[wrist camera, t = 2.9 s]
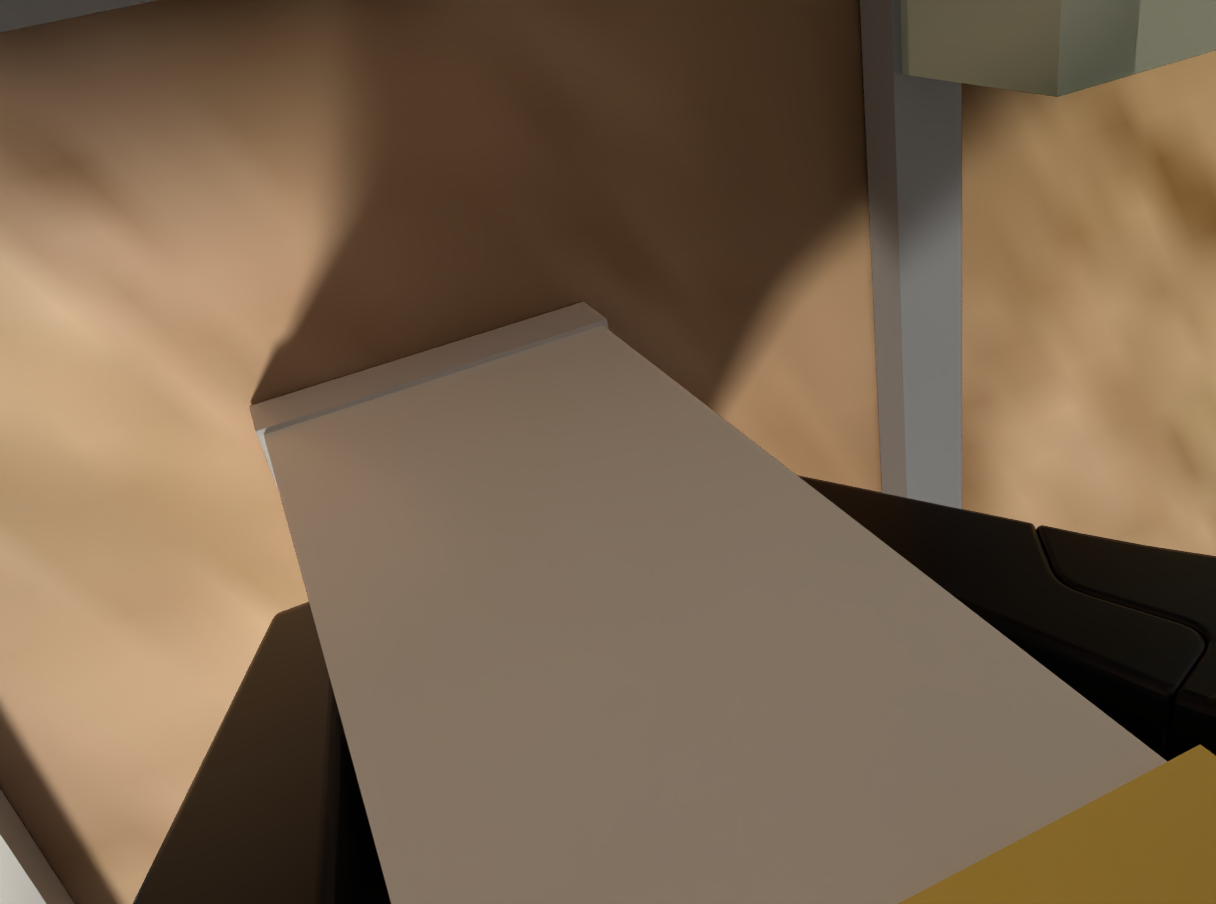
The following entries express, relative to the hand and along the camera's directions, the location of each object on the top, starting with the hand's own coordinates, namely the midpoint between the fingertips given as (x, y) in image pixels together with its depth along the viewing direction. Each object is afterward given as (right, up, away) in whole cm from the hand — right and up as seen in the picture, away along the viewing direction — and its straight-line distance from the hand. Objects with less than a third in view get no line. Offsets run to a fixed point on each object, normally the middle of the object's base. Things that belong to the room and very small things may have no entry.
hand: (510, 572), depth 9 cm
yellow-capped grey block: (-1, +1, +1) cm, 2 cm away
